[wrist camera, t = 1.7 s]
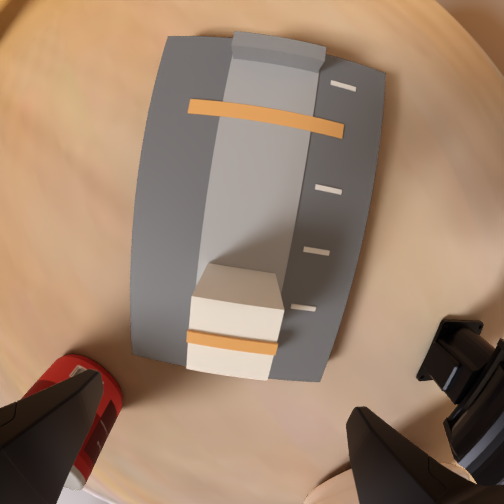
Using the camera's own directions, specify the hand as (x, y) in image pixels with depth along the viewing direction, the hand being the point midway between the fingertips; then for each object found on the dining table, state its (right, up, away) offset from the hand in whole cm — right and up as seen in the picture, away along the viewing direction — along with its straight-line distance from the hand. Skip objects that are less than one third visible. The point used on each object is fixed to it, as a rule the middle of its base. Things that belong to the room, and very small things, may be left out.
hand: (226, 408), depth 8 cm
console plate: (+1, +8, +10) cm, 12 cm away
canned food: (-15, -8, +14) cm, 22 cm away
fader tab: (0, +2, +9) cm, 9 cm away
